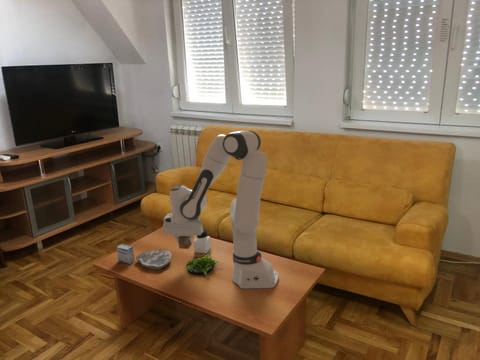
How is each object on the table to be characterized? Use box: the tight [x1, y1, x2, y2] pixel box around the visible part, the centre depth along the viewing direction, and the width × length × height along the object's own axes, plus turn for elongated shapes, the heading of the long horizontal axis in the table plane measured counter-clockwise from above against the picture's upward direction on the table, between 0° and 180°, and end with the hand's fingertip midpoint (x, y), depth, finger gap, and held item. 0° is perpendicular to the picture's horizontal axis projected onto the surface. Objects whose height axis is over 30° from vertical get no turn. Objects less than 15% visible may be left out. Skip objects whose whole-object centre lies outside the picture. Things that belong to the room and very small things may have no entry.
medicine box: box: [116, 243, 136, 265], centre depth 221 cm, size 8×4×9 cm, turn 62°
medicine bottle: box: [193, 228, 212, 254], centre depth 228 cm, size 7×7×12 cm
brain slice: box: [135, 248, 172, 271], centre depth 220 cm, size 20×17×3 cm
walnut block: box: [177, 235, 193, 250], centre depth 212 cm, size 5×5×6 cm
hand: (184, 241), depth 212 cm, fingers closed on walnut block, 5 cm apart
